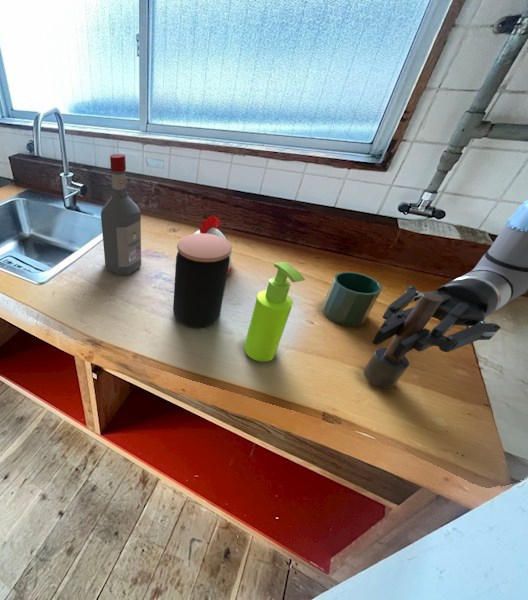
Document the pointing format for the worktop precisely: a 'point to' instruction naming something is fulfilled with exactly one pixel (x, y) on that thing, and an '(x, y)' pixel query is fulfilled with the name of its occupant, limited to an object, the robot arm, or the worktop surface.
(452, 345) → the robot arm
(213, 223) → the kitchen timer
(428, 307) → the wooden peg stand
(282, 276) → the soap dispenser
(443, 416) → the worktop surface
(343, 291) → the teal faceted cup
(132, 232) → the liquor
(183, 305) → the coffee jar
